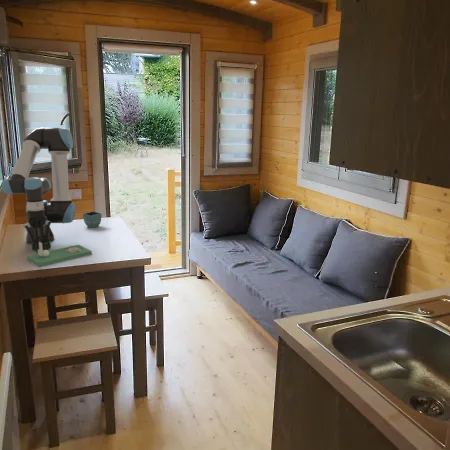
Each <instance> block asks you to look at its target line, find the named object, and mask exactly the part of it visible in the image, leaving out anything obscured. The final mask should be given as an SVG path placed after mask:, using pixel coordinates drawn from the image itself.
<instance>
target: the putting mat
mask: <svg viewBox="0 0 450 450" xmlns="http://www.w3.org/2000/svg"><path fill="white" fill-rule="evenodd" d="M48 251H49V255H48V256H47V257H44V256H43V255H42V256H40V255H38V253H34V254H33V253H32V254H30V255H26V259H27V261H29V262H30V263H32V264H33V265H34V266H36V267H38V268H42V267H45V266H49V265H54V264H57V263H62V262H66V261H70V260H74V259H78V258H81V257H87V256H91V255H92V254H93V253H92V250H91V249H88V248H87V247H84V246H83V245H81V244H75V245H71V246H65V247H61V248H56V249H51V250H48Z"/></svg>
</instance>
